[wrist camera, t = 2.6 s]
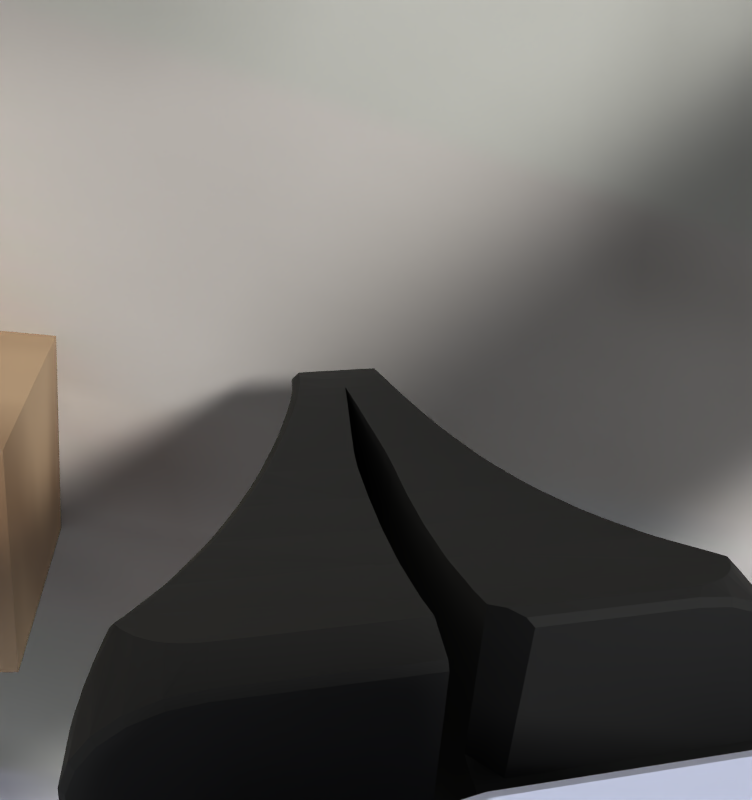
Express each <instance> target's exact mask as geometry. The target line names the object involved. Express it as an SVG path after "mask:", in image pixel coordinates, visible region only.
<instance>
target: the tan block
mask: <svg viewBox="0 0 752 800" xmlns="http://www.w3.org/2000/svg"><path fill="white" fill-rule="evenodd" d="M60 530H61V506H60V468H59V431H58V394H57V357H56V336H50V335H39V334H28V333H17V332H6V331H0V672H19V668H20V665H21V661H22V658H23V655H24V651H25V648H26V645H27V641H28V638H29V635H30V631H31V628H32V624H33V621H34V618H35V614H36V611H37V608H38V604H39V601H40V598H41V594H42V591H43V587H44V584H45V581H46V577H47V574H48V571H49V567H50V564H51V561H52V557H53V554H54V550H55V547H56V544H57V540H58V537H59V534H60Z"/></svg>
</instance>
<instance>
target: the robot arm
mask: <svg viewBox="0 0 752 800" xmlns="http://www.w3.org/2000/svg"><path fill="white" fill-rule="evenodd" d="M58 795H59V800H752V584H751V583H750V582H749V581H748V580H747V579H746V577H745V576H744V575H743V574H742V573H741V571H740V570H739V569H738V568H737V567H736V566H735V565H734V564H733V562H732V561H731V560H730V559H729V558H728V557H727V556H724V555H720V554H716V553H713V552H709V551H706V550H702V549H699V548H695V547H691V546H688V545H684V544H681V543H677V542H673V541H670V540H666V539H663V538H659V537H655V536H652V535H649V534H646V533H643V532H640V531H637V530H635V529H632V528H629V527H626V526H623V525H620V524H618V523H615V522H612V521H609V520H606V519H604V518H601V517H599V516H596V515H594V514H591V513H589V512H586V511H584V510H581V509H579V508H577V507H574V506H572V505H570V504H568V503H566V502H564V501H562V500H559V499H557V498H555V497H553V496H551V495H549V494H546V493H544V492H542V491H540V490H538V489H536V488H534V487H532V486H530V485H528V484H527V483H525V482H523V481H521V480H519V479H517V478H516V477H514V476H512V475H511V474H509V473H507V472H505V471H504V470H502V469H500V468H499V467H497V466H495V465H493V464H492V463H490V462H489V461H487V460H485V459H484V458H482V457H481V456H479V455H478V454H476V453H475V452H473V451H472V450H471V449H469V448H468V447H466V446H465V445H464V444H462V443H461V442H459V441H458V440H457V439H455V438H454V437H452V436H451V435H450V434H448V433H447V432H446V431H445V430H443V429H442V428H441V427H439V426H438V425H437V424H436V423H434V422H433V421H432V420H431V419H430V418H428V417H427V416H426V415H425V414H424V413H422V412H421V411H420V410H419V409H418V408H417V407H415V406H414V405H413V404H412V403H411V402H410V401H409V400H408V399H406V398H405V397H404V396H403V395H402V394H401V393H400V392H399V391H398V390H397V389H395V388H394V387H393V386H392V385H391V384H390V383H389V382H388V381H387V380H386V379H385V378H384V377H383V376H382V375H380V374H379V373H378V372H377V371H376V370H375V369H356V370H338V371H321V372H303V373H298V374H297V375H296V376H295V377H294V378H293V379H292V396H291V401H290V404H289V408H288V411H287V414H286V417H285V420H284V422H283V425H282V427H281V430H280V433H279V435H278V438H277V440H276V442H275V444H274V446H273V448H272V450H271V452H270V454H269V456H268V458H267V460H266V462H265V464H264V466H263V468H262V469H261V471H260V473H259V475H258V476H257V478H256V480H255V481H254V483H253V485H252V486H251V488H250V489H249V491H248V492H247V494H246V495H245V497H244V498H243V500H242V501H241V502H240V504H239V505H238V507H237V508H236V509H235V511H234V512H233V513H232V514H231V516H230V517H229V518H228V519H227V521H226V522H225V523H224V524H223V526H222V527H221V528H220V529H219V531H218V532H217V533H216V534H215V535H214V537H213V538H212V539H211V540H210V541H209V542H208V543H207V544H206V545H205V547H204V548H203V549H202V550H201V551H200V552H199V553H197V554H196V555H195V556H194V557H193V558H192V559H191V560H190V561H189V562H188V563H187V564H186V565H185V566H184V567H183V568H182V569H181V570H180V571H179V572H178V573H177V574H176V575H175V576H174V577H173V578H172V579H171V580H170V581H169V582H168V583H167V584H165V585H164V586H163V587H162V588H161V589H159V590H158V591H157V592H155V593H154V594H153V595H151V596H150V597H149V598H148V599H146V600H145V601H144V602H142V603H141V604H140V605H138V606H137V607H136V608H134V609H133V610H132V611H131V612H129V613H128V614H127V615H125V616H124V617H122V618H121V619H120V620H118V621H117V622H115V623H114V624H113V625H112V626H111V627H110V628H109V630H108V632H107V634H106V636H105V638H104V640H103V642H102V644H101V647H100V649H99V651H98V653H97V656H96V658H95V660H94V662H93V665H92V667H91V670H90V672H89V675H88V677H87V680H86V682H85V685H84V687H83V690H82V693H81V696H80V699H79V702H78V705H77V707H76V710H75V713H74V717H73V720H72V724H71V727H70V732H69V736H68V741H67V746H66V751H65V756H64V761H63V766H62V770H61V775H60V780H59V785H58Z"/></svg>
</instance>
